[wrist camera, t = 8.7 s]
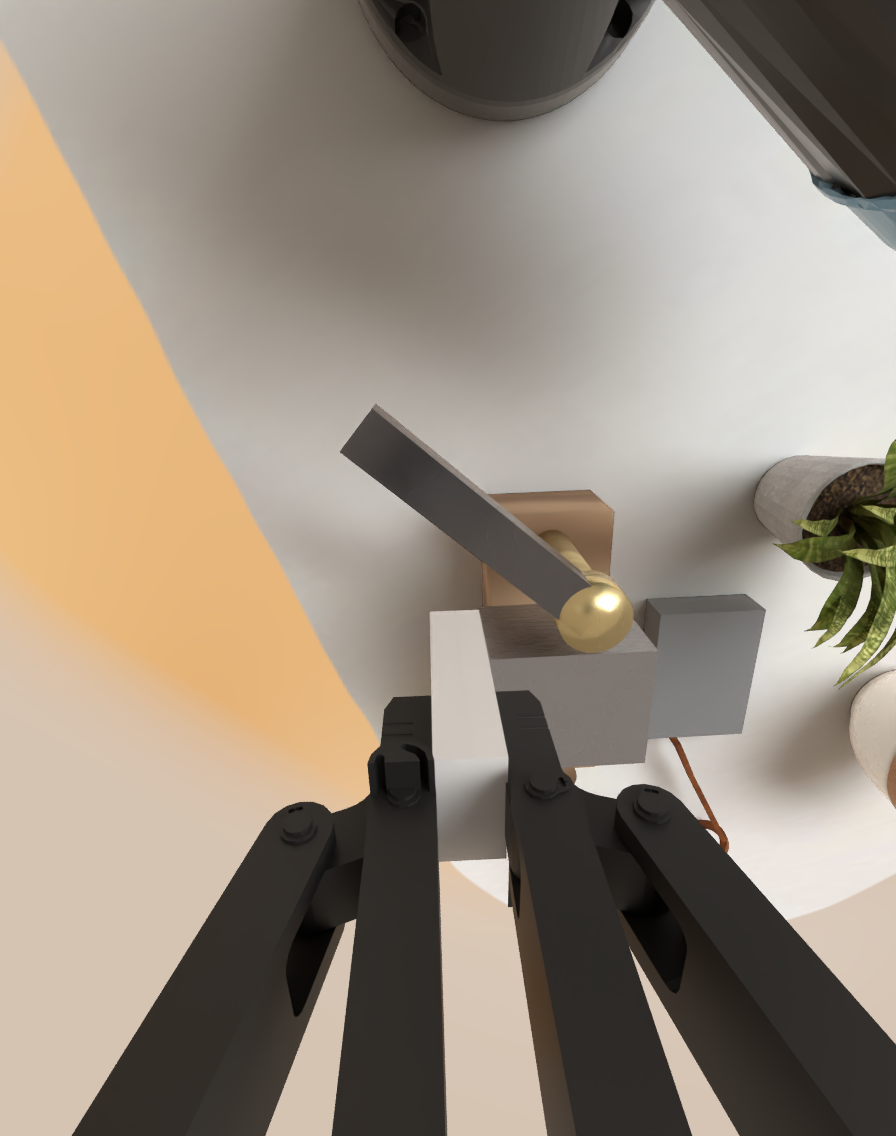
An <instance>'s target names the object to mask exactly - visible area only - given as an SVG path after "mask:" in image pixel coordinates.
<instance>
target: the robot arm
mask: <svg viewBox="0 0 896 1136" xmlns="http://www.w3.org/2000/svg"><path fill="white" fill-rule="evenodd" d="M654 1H655V0H359V3H360V5H361V8H362V10H363V12H364V15H365V17H366V19H367V21H368V23H369V25H370V27H371V29H372V31H373V33H374V34H375V36H376V38H377V40H378V41H379V43H380V45H381V46H382V48H383V49H384V51H385V52H386V54H387V55H388V56H389V58H390V59H391V60H392V62H393V63H394V64H395V65H396V66H397V68H398V69H399V70H400V71H401V72H402V73H403V74H404V75H405V76H406V77H407V78H408V79H409V80H410V81H411V82H412V83H413V84H414V85H415V86H416V87H417V88H419V89H420V90H421V91H422V92H424V93H425V94H426V95H428V96H429V97H430V98H432V99H434V100H435V101H437V102H439V103H440V104H442V105H444V106H446V107H448V108H450V109H452V110H454V111H457V112H459V113H462V114H465V115H468V116H472V117H476V118H481V119H486V120H496V121H509V120H520V119H526V118H530V117H534V116H538V115H541V114H544V113H547V112H550V111H552V110H554V109H556V108H559V107H561V106H563V105H564V104H566V103H568V102H570V101H571V100H573V99H574V98H576V97H577V96H579V95H580V94H582V93H583V92H584V91H586V90H587V89H588V88H589V87H591V86H592V85H593V84H594V83H595V82H596V81H597V80H598V79H599V78H601V77H602V75H603V74H604V73H605V72H606V71H607V70H608V69H609V68H610V67H611V66H612V64H613V63H614V62H615V61H616V60H617V58H618V57H619V56H620V54H621V53H622V52H623V50H624V49H625V47H626V46H627V45H628V43H629V42H630V40H631V39H632V37H633V36H634V34H635V33H636V31H637V30H638V28H639V27H640V25H641V24H642V22H643V21H644V19H645V17H646V16H647V14H648V12H649V11H650V9H651V7H652V5H653V3H654ZM662 1H663V2H664V3H665V4H666V5H667V6H668V7H669V8H670V10H671V11H672V12H673V13H674V14H675V15H676V16H677V17H678V18H679V20H680V21H681V22H682V23H683V24H684V25H685V26H686V28H687V29H688V30H689V31H690V32H691V33H692V35H693V36H694V37H695V38H696V39H697V40H698V41H699V43H700V44H701V45H702V46H703V47H704V48H705V50H706V51H707V52H708V53H709V54H710V55H711V56H712V58H713V59H714V60H715V61H716V62H717V63H718V65H719V66H720V67H721V68H722V69H723V70H724V72H725V73H726V74H727V75H728V76H729V77H730V78H731V80H732V81H733V82H734V83H735V84H736V85H737V87H738V88H739V89H740V90H741V91H742V92H743V93H744V95H745V96H746V97H747V98H748V99H749V100H750V102H751V103H752V104H753V105H754V106H755V107H756V108H757V110H758V111H759V112H760V113H761V114H762V115H763V117H764V118H765V119H766V120H767V121H768V122H769V124H770V125H771V126H772V127H773V128H774V129H775V130H776V132H777V133H778V134H779V135H780V136H781V137H782V139H783V140H784V141H785V142H786V143H787V144H788V145H789V147H790V148H791V149H792V150H793V151H794V152H795V154H796V155H797V156H798V157H799V158H800V159H801V160H802V162H803V163H804V164H805V165H806V166H807V167H808V169H809V171H810V173H811V177H812V182H813V184H814V185H815V186H816V188H817V189H818V190H819V191H820V192H821V193H822V194H823V195H824V196H826V197H827V198H829V199H831V200H833V201H834V202H836V203H839V204H842V205H846V206H847V207H848V208H849V209H850V210H851V211H852V212H853V213H854V214H855V215H856V216H857V217H858V218H859V219H860V220H861V221H862V222H864V223H865V224H866V225H867V226H868V227H869V228H870V229H871V230H872V231H873V232H874V233H875V234H876V235H877V236H878V237H879V238H880V239H881V240H882V241H883V242H884V243H885V244H887V245H888V246H889V247H890V248H892V249H894V250H895V251H896V0H662ZM430 651H431V696H411V697H393V699H392V700H391V702H390V703H389V704H388V706H387V707H386V708H385V710H384V718H383V727H382V738H381V745H380V747H379V748H378V749H377V750H375V751H374V752H373V753H372V754H371V756H370V759H369V761H368V774H369V784H370V794H369V795H368V796H367V797H366V798H365V799H364V800H363V801H361V802H359V803H358V804H357V805H354V806H352V807H349V808H347V809H344V810H341V811H338V812H335V813H331V812H330V811H329V810H328V809H327V808H326V807H325V806H324V805H321V804H318V803H315V802H299V803H295V804H292V805H289V806H286V807H285V808H283V809H282V810H280V811H278V812H277V813H275V814H274V815H273V816H272V818H271V819H270V820H269V821H268V822H267V823H266V825H265V826H264V828H263V830H262V831H261V833H260V834H259V836H258V838H257V840H256V841H255V842H254V844H253V846H252V847H251V849H250V851H249V852H248V854H247V855H246V857H245V858H244V860H243V862H242V863H241V865H240V867H239V868H238V870H237V871H236V873H235V875H234V876H233V878H232V879H231V881H230V883H229V884H228V886H227V887H226V889H225V891H224V892H223V894H222V895H221V897H220V899H219V900H218V902H217V903H216V905H215V907H214V908H213V910H212V911H211V913H210V915H209V916H208V918H207V919H206V921H205V923H204V924H203V926H202V927H201V929H200V931H199V932H198V934H197V936H196V937H195V939H194V940H193V942H192V944H191V945H190V947H189V948H188V950H187V952H186V953H185V955H184V956H183V958H182V960H181V961H180V963H179V964H178V966H177V968H176V969H175V971H174V972H173V974H172V976H171V977H170V979H169V980H168V982H167V984H166V985H165V987H164V989H163V990H162V992H161V993H160V995H159V996H158V998H157V1000H156V1001H155V1003H154V1004H153V1006H152V1008H151V1009H150V1011H149V1012H148V1014H147V1016H146V1017H145V1019H144V1021H143V1022H142V1024H141V1026H140V1027H139V1029H138V1030H137V1032H136V1034H135V1035H134V1037H133V1038H132V1040H131V1041H130V1043H129V1045H128V1046H127V1048H126V1049H125V1051H124V1053H123V1054H122V1056H121V1057H120V1059H119V1061H118V1062H117V1064H116V1065H115V1067H114V1069H113V1070H112V1072H111V1074H110V1075H109V1077H108V1078H107V1080H106V1082H105V1083H104V1085H103V1086H102V1088H101V1089H100V1091H99V1093H98V1094H97V1096H96V1097H95V1099H94V1101H93V1102H92V1104H91V1106H90V1107H89V1109H88V1110H87V1112H86V1114H85V1115H84V1117H83V1118H82V1120H81V1122H80V1123H79V1125H78V1126H77V1128H76V1130H75V1132H74V1133H73V1134H72V1136H265V1135H266V1132H267V1130H268V1127H269V1124H270V1122H271V1119H272V1116H273V1114H274V1111H275V1109H276V1106H277V1103H278V1101H279V1098H280V1096H281V1093H282V1090H283V1088H284V1085H285V1082H286V1080H287V1077H288V1074H289V1072H290V1069H291V1067H292V1064H293V1061H294V1059H295V1056H296V1054H297V1051H298V1048H299V1046H300V1043H301V1040H302V1038H303V1035H304V1033H305V1030H306V1027H307V1025H308V1022H309V1019H310V1017H311V1014H312V1012H313V1009H314V1006H315V1004H316V1001H317V998H318V996H319V993H320V991H321V988H322V985H323V982H324V980H325V978H326V975H327V972H328V969H329V967H330V964H331V962H332V959H333V957H334V954H335V951H336V949H337V946H338V943H339V941H340V938H341V935H342V933H343V930H344V926H345V923H346V922H349V921H351V920H354V919H356V929H355V937H354V945H353V954H352V963H351V972H350V981H349V989H348V998H347V1007H346V1016H345V1024H344V1033H343V1042H342V1050H341V1059H340V1069H339V1076H338V1085H337V1094H336V1104H335V1112H334V1121H333V1129H332V1136H447V1115H446V1114H447V1113H446V1081H445V1051H444V1050H445V1048H444V1015H443V984H442V953H441V952H442V951H441V918H440V885H439V862H441V861H461V860H481V859H501V858H506V846H507V852H508V858H509V891H508V907H513V912H514V919H515V925H516V931H517V938H518V945H519V952H520V958H521V964H522V972H523V978H524V985H525V991H526V998H527V1004H528V1011H529V1018H530V1024H531V1031H532V1037H533V1044H534V1050H535V1056H536V1063H537V1070H538V1077H539V1082H540V1090H541V1096H542V1103H543V1109H544V1116H545V1122H546V1129H547V1135H548V1136H692V1134H691V1131H690V1128H689V1125H688V1122H687V1119H686V1116H685V1113H684V1110H683V1107H682V1104H681V1101H680V1098H679V1095H678V1092H677V1089H676V1086H675V1083H674V1080H673V1077H672V1074H671V1071H670V1068H669V1065H668V1062H667V1059H666V1056H665V1053H664V1050H663V1047H662V1044H661V1041H660V1038H659V1035H658V1032H657V1029H656V1026H655V1023H654V1020H653V1017H652V1014H651V1011H650V1008H649V1005H648V1002H647V999H646V996H645V993H644V990H643V987H642V984H641V981H640V978H639V975H638V972H637V969H636V966H635V963H634V960H633V957H632V954H631V951H632V952H633V954H634V956H635V957H636V959H637V961H638V963H639V964H640V966H641V968H642V969H643V971H644V972H645V975H646V976H647V978H648V980H649V981H650V983H651V985H652V986H653V988H654V990H655V991H656V993H657V995H658V996H659V998H660V1000H661V1002H662V1004H663V1005H664V1007H665V1009H666V1010H667V1012H668V1013H669V1016H670V1017H671V1019H672V1021H673V1022H674V1024H675V1026H676V1027H677V1029H678V1031H679V1033H680V1034H681V1036H682V1038H683V1039H684V1041H685V1043H686V1045H687V1046H688V1048H689V1050H690V1052H691V1053H692V1055H693V1057H694V1058H695V1060H696V1062H697V1063H698V1065H699V1067H700V1068H701V1070H702V1072H703V1074H704V1075H705V1077H706V1079H707V1081H708V1082H709V1084H710V1086H711V1087H712V1089H713V1091H714V1093H715V1094H716V1096H717V1097H718V1099H719V1101H720V1103H721V1105H722V1106H723V1108H724V1110H725V1111H726V1113H727V1115H728V1117H729V1118H730V1120H731V1121H732V1123H733V1125H734V1127H735V1128H736V1130H737V1132H738V1134H739V1135H740V1136H896V1044H895V1043H894V1042H893V1041H892V1040H891V1039H890V1038H889V1036H888V1035H887V1034H886V1033H885V1032H884V1031H883V1030H882V1028H881V1027H880V1026H879V1025H878V1024H877V1023H876V1022H875V1020H874V1019H873V1018H872V1017H871V1016H870V1015H869V1014H868V1012H867V1011H866V1010H865V1009H864V1008H863V1007H862V1006H861V1005H860V1004H859V1002H858V1001H857V1000H856V999H855V998H854V997H853V996H852V994H851V993H850V992H849V991H848V990H847V989H846V988H845V987H844V985H843V984H842V983H841V982H840V981H839V980H838V978H837V977H836V976H835V975H834V974H833V973H832V972H831V971H830V969H829V968H828V967H827V966H826V965H825V964H824V963H823V962H822V960H821V959H820V958H819V957H818V956H817V955H816V954H815V952H814V951H813V950H812V949H811V948H810V947H809V946H808V945H807V944H806V942H805V941H804V940H803V939H802V938H801V937H800V936H799V934H798V933H797V932H796V931H795V930H794V929H793V928H792V926H791V925H790V924H789V923H788V922H787V921H786V920H785V918H784V917H783V916H782V915H781V914H780V913H779V912H778V911H777V909H776V908H775V907H774V906H773V905H772V904H771V903H770V901H769V900H768V899H767V898H766V897H765V896H764V895H763V894H762V892H761V891H760V890H759V889H758V888H757V887H756V886H755V885H754V883H753V882H752V881H751V880H750V879H749V878H748V877H747V875H746V874H745V873H744V872H743V871H742V870H741V869H740V868H739V866H738V865H737V864H736V863H735V862H734V861H733V860H732V858H731V857H730V856H729V855H728V854H727V853H726V852H725V851H724V849H723V848H722V847H721V846H720V845H719V844H718V843H717V841H716V840H715V839H714V838H713V837H712V836H711V835H710V834H709V832H708V831H707V830H706V829H705V828H704V827H703V826H702V824H701V823H700V822H699V821H698V820H697V819H696V818H695V817H694V815H693V814H692V813H691V812H690V811H689V810H688V809H687V808H686V806H685V805H684V804H683V803H682V802H681V801H680V800H679V799H678V798H676V797H675V796H674V795H673V794H672V793H670V792H668V791H666V790H664V789H662V788H660V787H657V786H652V785H647V784H639V785H631V786H629V787H627V788H625V789H623V790H622V791H621V793H620V794H619V795H618V797H617V799H614V798H609V797H604V796H599V795H595V794H592V793H588V792H586V791H584V790H582V789H580V788H578V787H577V786H575V785H574V783H573V781H572V780H571V778H570V777H569V776H568V775H567V774H565V773H564V772H563V770H562V768H561V765H560V762H559V758H558V755H557V752H556V749H555V746H554V743H553V740H552V737H551V733H550V730H549V729H548V724H547V721H546V718H545V715H544V712H543V708H542V705H541V702H540V701H539V700H538V699H537V698H536V697H535V696H534V695H533V694H532V693H531V692H530V691H529V690H521V691H497V692H495V688H494V683H493V678H492V673H491V668H490V663H489V658H488V653H487V648H486V643H485V638H484V633H483V628H482V624H481V619H480V614H479V610H456V611H430ZM629 947H630V948H629ZM630 949H631V951H630Z"/></svg>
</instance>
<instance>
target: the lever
mask: <svg viewBox="0 0 896 1136" xmlns="http://www.w3.org/2000/svg"><path fill="white" fill-rule="evenodd" d="M340 453H342V454H343V455H344V456H346V457H347V458H348V459H350V460H351V461H352V462H353V463H355V464H356V465H357V466H359V467H360V468H361V469H363V470H364V471H365V472H366V473H368V474H369V475H370V476H372V477H373V478H374V479H376V480H377V481H378V482H379V483H381V484H382V485H383V486H385V487H386V488H387V489H389V490H390V491H391V492H392V493H394V494H395V495H396V496H398V497H399V498H400V499H402V500H403V501H404V502H405V503H407V504H408V505H409V506H411V507H412V508H413V509H415V510H416V511H417V512H418V513H420V514H421V515H422V516H424V517H425V518H426V519H428V520H429V521H430V522H431V523H433V524H434V525H435V526H437V527H438V528H439V529H441V530H442V531H443V532H444V533H446V534H447V535H448V536H450V537H451V538H452V539H454V540H455V541H456V542H458V543H459V544H460V545H461V546H463V547H464V548H465V549H467V550H468V551H469V552H471V553H472V554H473V555H474V556H476V557H477V558H478V559H480V560H481V561H482V562H484V563H485V564H486V565H487V566H489V567H490V568H491V569H493V570H494V571H495V572H497V573H498V574H499V575H500V576H502V577H503V578H504V579H506V580H507V581H508V582H510V583H511V584H512V585H513V586H515V587H516V588H517V589H519V590H520V591H521V592H523V593H524V594H525V595H526V596H528V597H529V598H530V599H532V600H533V601H534V602H536V603H537V604H538V605H539V606H541V607H542V608H543V609H545V610H546V611H547V612H549V613H550V614H551V615H552V617H553V619H554V621H555V623H556V625H557V627H558V629H559V632H560V634H561V636H562V638H563V639H564V641H565V642H566V643H567V644H568V645H569V646H571V647H572V648H574V649H576V650H578V651H581V652H586V653H598V652H603V651H606V650H609V649H611V648H613V647H615V646H616V645H617V644H619V643H620V642H621V641H622V640H623V639H624V638H625V637H626V636H627V634H628V633H629V631H630V629H631V627H632V624H633V618H634V612H633V607H632V604H631V602H630V600H629V599H628V598H627V596H626V595H625V594H624V592H623V591H622V590H621V589H620V587H619V586H618V585H617V584H616V583H615V581H614V580H613V579H612V578H611V577H610V576H608V575H607V574H605V573H602V572H599V571H595V570H584V571H581V570H580V569H578V568H577V567H576V566H575V565H573V564H572V563H571V562H570V561H569V560H567V559H566V558H565V557H564V556H562V555H561V554H560V553H559V552H557V551H556V550H555V549H554V548H553V547H551V546H550V545H549V544H548V543H546V542H545V541H544V540H543V539H541V538H540V537H539V536H538V535H537V534H535V533H534V532H533V531H532V530H530V529H529V528H528V527H527V526H526V525H524V524H523V523H522V522H521V521H519V520H518V519H517V518H516V517H514V516H513V515H512V514H511V513H510V512H508V511H507V510H506V509H505V508H503V507H502V506H501V505H500V504H498V503H497V502H496V501H495V500H494V499H492V498H491V497H490V496H489V495H487V494H486V493H485V492H484V491H482V490H481V489H480V488H479V487H478V486H476V485H475V484H474V483H473V482H471V481H470V480H469V479H468V478H466V477H465V476H464V475H463V474H462V473H460V472H459V471H458V470H457V469H455V468H454V467H453V466H452V465H451V464H449V463H448V462H447V461H446V460H444V459H443V458H442V457H441V456H439V455H438V454H437V453H436V452H435V451H433V450H432V449H431V448H430V447H428V446H427V445H426V444H425V443H423V442H422V441H421V440H420V439H419V438H417V437H416V436H415V435H414V434H412V433H411V432H410V431H409V430H407V429H406V428H405V427H404V426H403V425H401V424H400V423H399V422H398V421H396V420H395V419H394V418H393V417H392V416H390V415H389V414H388V413H387V412H385V411H384V410H383V409H382V408H380V407H379V406H378V405H377V404H375V405H374V407H373V408H372V409H371V411H370V412H369V413H368V415H367V416H366V417H365V419H364V420H363V421H362V423H361V424H360V425H359V427H358V428H357V429H356V431H355V432H354V433H353V435H352V436H351V437H350V439H349V440H348V441H347V443H346V444H345V445H344V447H343V448H342V450H341V451H340Z"/></svg>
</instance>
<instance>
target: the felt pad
mask: <svg viewBox="0 0 896 1136" xmlns="http://www.w3.org/2000/svg"><path fill="white" fill-rule="evenodd" d="M765 612H766V610H765V609H764V608H763V607H762V606H760V605H759V604H758V603H756V602H755V601H754V600H753V599H751V598H750V597H749V596H747V595H746V594H739V595H719V596H698V597H678V598H658V599H647V604H646V613H645V622H644V633H645V634H646V636H647V637H648V638H649V640H650V641H651V642H652V644H653V645H654V646H655V648H656V649H657V650H658V656H657V664H656V672H655V681H654V689H653V697H652V705H651V714H650V722H649V730H648V739H653V738H671V737H689V736H707V735H724V734H742V729H743V724H744V719H745V714H746V709H747V703H748V698H749V693H750V688H751V683H752V678H753V673H754V668H755V663H756V658H757V653H758V647H759V642H760V637H761V632H762V627H763V622H764V617H765Z"/></svg>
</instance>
